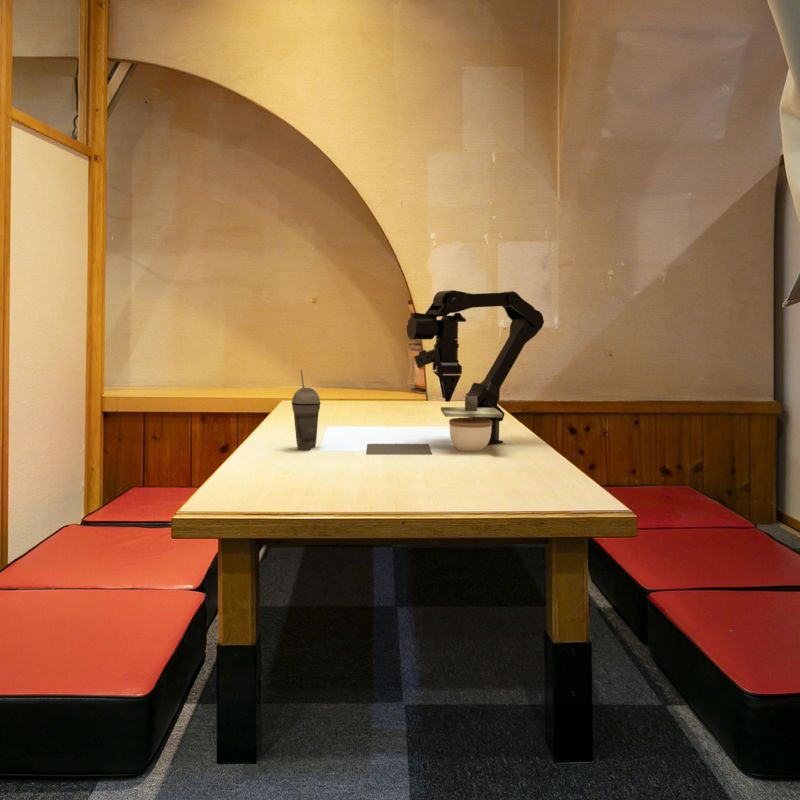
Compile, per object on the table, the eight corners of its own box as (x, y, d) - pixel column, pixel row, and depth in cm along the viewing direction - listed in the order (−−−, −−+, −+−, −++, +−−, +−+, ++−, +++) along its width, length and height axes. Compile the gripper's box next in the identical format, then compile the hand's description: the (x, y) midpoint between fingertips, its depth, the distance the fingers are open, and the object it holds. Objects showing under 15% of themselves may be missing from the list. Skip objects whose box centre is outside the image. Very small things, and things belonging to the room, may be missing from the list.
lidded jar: (463, 455, 185) (464, 417, 184) (440, 449, 194) (441, 412, 193) (500, 452, 190) (500, 415, 189) (476, 446, 199) (476, 410, 198)
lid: (494, 410, 198) (495, 394, 198) (502, 417, 184) (503, 399, 184) (440, 410, 198) (441, 393, 197) (445, 416, 184) (445, 398, 183)
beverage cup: (315, 451, 189) (315, 371, 187) (287, 450, 190) (287, 370, 188) (324, 447, 196) (324, 369, 194) (297, 445, 197) (296, 368, 195)
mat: (428, 445, 199) (428, 443, 199) (432, 456, 184) (432, 454, 184) (367, 445, 199) (367, 443, 199) (365, 456, 183) (365, 454, 183)
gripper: (414, 338, 206) (413, 396, 207) (417, 340, 187) (416, 403, 189) (455, 338, 206) (454, 396, 208) (462, 340, 188) (461, 403, 189)
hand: (446, 399), depth 198 cm, fingers open, 9 cm apart
